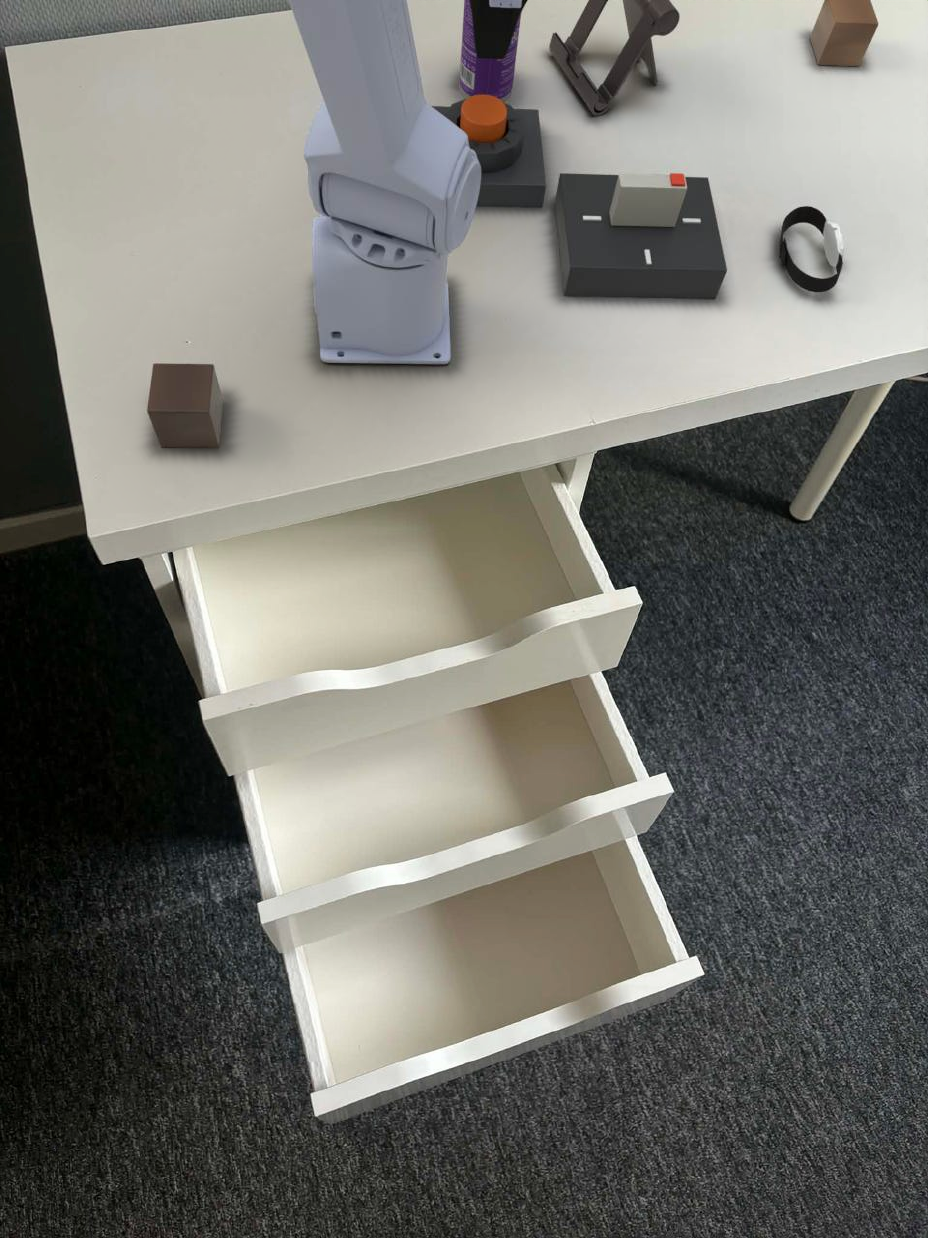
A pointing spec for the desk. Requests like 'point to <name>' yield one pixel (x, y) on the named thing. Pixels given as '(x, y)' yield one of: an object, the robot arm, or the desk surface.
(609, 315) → the desk surface
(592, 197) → the panel
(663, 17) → the tablet stand
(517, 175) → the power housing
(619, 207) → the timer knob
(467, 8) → the container
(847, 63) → the cork block
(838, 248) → the watch
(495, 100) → the power button
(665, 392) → the desk surface
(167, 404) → the walnut block
